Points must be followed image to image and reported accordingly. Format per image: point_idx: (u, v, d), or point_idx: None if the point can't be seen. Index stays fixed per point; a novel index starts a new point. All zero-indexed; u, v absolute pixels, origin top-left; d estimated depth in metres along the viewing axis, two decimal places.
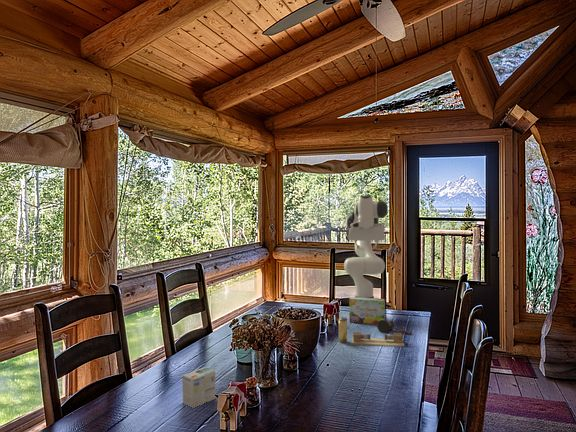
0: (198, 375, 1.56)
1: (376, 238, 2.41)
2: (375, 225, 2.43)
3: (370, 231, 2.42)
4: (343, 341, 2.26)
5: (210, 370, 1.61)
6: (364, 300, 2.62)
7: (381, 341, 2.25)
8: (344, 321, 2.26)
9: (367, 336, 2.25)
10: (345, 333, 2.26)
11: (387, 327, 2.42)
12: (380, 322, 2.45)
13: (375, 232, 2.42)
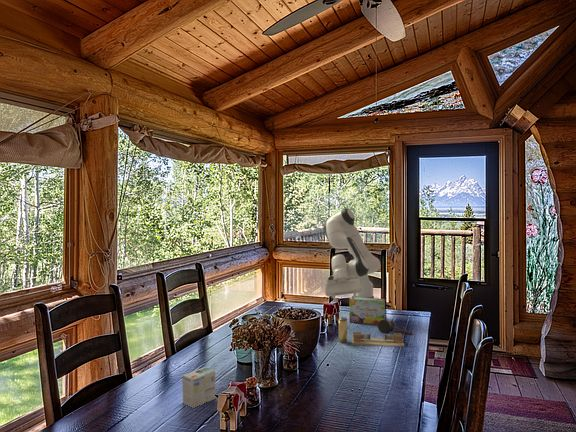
0: (198, 375, 1.56)
1: (353, 288, 2.38)
2: None
3: (346, 283, 2.41)
4: (343, 341, 2.26)
5: (210, 370, 1.61)
6: (364, 300, 2.62)
7: (381, 341, 2.25)
8: (344, 321, 2.26)
9: (367, 336, 2.25)
10: (345, 333, 2.26)
11: (388, 327, 2.42)
12: (381, 322, 2.45)
13: (351, 283, 2.40)
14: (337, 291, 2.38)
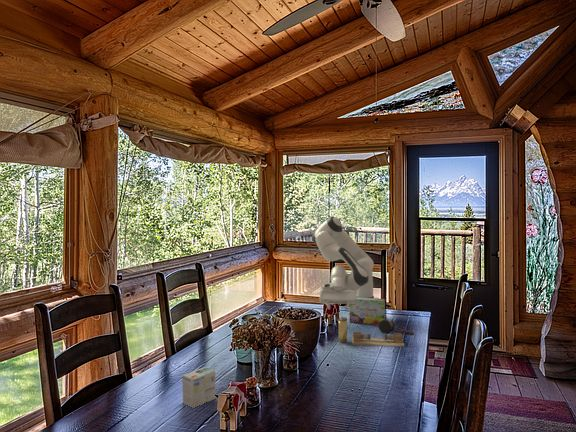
0: (198, 375, 1.56)
1: (347, 298, 2.34)
2: (347, 289, 2.41)
3: (341, 293, 2.38)
4: (343, 341, 2.26)
5: (210, 370, 1.61)
6: (364, 300, 2.62)
7: (381, 341, 2.25)
8: (344, 321, 2.26)
9: (367, 336, 2.25)
10: (345, 333, 2.26)
11: (389, 327, 2.41)
12: (381, 322, 2.45)
13: (346, 293, 2.37)
14: (331, 298, 2.35)
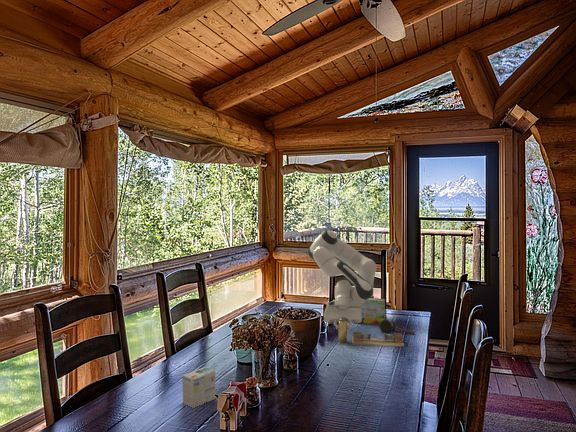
0: (198, 375, 1.56)
1: (353, 317, 2.29)
2: (352, 307, 2.35)
3: (346, 311, 2.32)
4: (343, 341, 2.26)
5: (210, 370, 1.61)
6: None
7: (381, 341, 2.25)
8: (344, 321, 2.26)
9: (367, 336, 2.25)
10: (345, 333, 2.26)
11: (390, 327, 2.41)
12: (382, 322, 2.44)
13: (352, 312, 2.32)
14: (336, 318, 2.30)
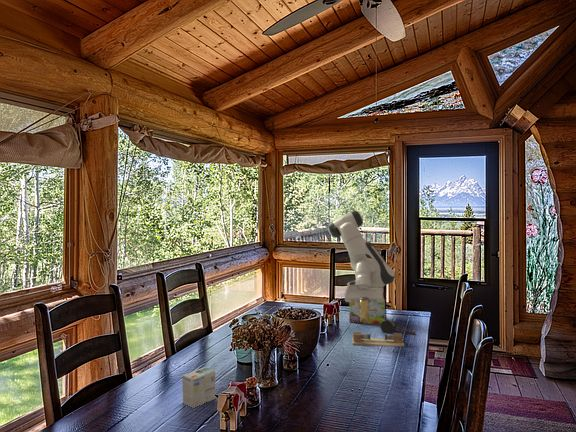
0: (198, 375, 1.56)
1: (374, 297, 2.26)
2: (373, 287, 2.32)
3: (368, 291, 2.30)
4: (365, 320, 2.23)
5: (210, 370, 1.61)
6: None
7: (381, 341, 2.25)
8: (365, 300, 2.23)
9: (367, 336, 2.25)
10: (366, 312, 2.23)
11: (391, 327, 2.41)
12: (383, 322, 2.44)
13: (373, 292, 2.29)
14: (357, 297, 2.28)
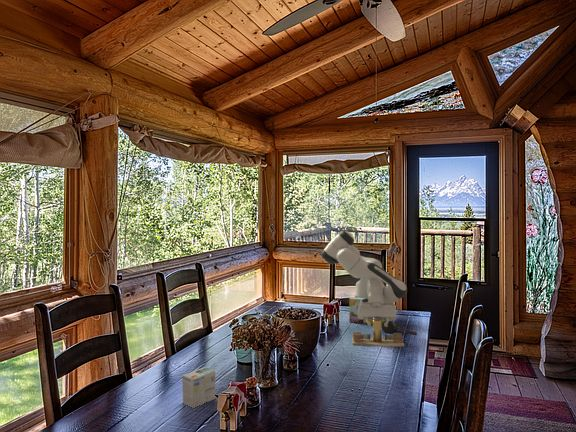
0: (198, 375, 1.56)
1: (387, 315, 2.27)
2: (385, 304, 2.33)
3: (380, 308, 2.30)
4: (378, 340, 2.24)
5: (210, 370, 1.61)
6: None
7: None
8: (378, 320, 2.23)
9: (367, 336, 2.25)
10: (380, 332, 2.24)
11: (392, 327, 2.41)
12: None
13: (386, 309, 2.29)
14: (370, 315, 2.28)
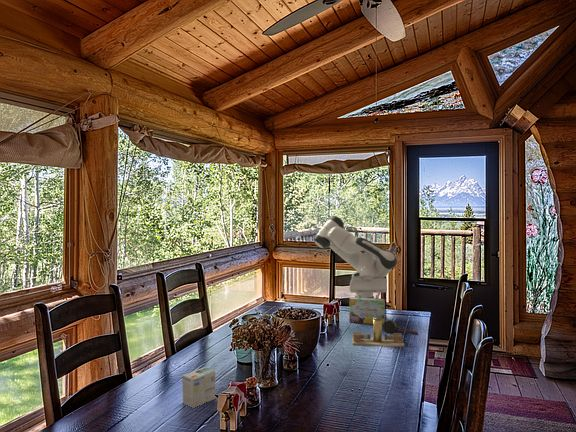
0: (198, 375, 1.56)
1: (378, 287, 2.36)
2: None
3: (371, 281, 2.39)
4: (378, 340, 2.24)
5: (210, 370, 1.61)
6: (364, 300, 2.62)
7: None
8: (379, 320, 2.23)
9: (367, 336, 2.25)
10: (380, 332, 2.24)
11: (393, 328, 2.41)
12: (386, 323, 2.44)
13: (377, 282, 2.38)
14: (361, 288, 2.37)
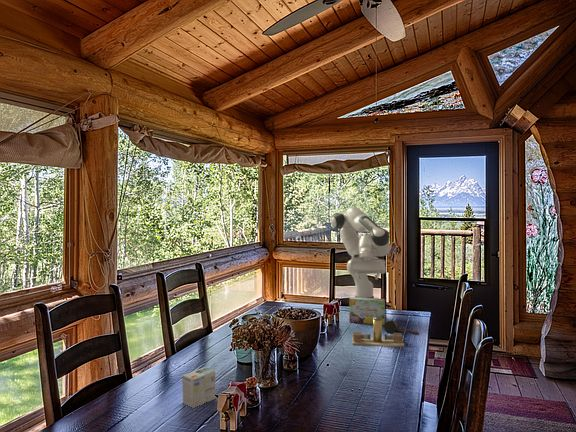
0: (198, 375, 1.56)
1: (377, 268, 2.41)
2: (376, 259, 2.47)
3: (371, 263, 2.44)
4: (378, 340, 2.24)
5: (210, 370, 1.61)
6: (364, 300, 2.62)
7: None
8: (379, 320, 2.23)
9: (367, 336, 2.25)
10: (380, 332, 2.24)
11: (394, 328, 2.40)
12: (387, 323, 2.43)
13: (376, 264, 2.43)
14: (361, 269, 2.42)
